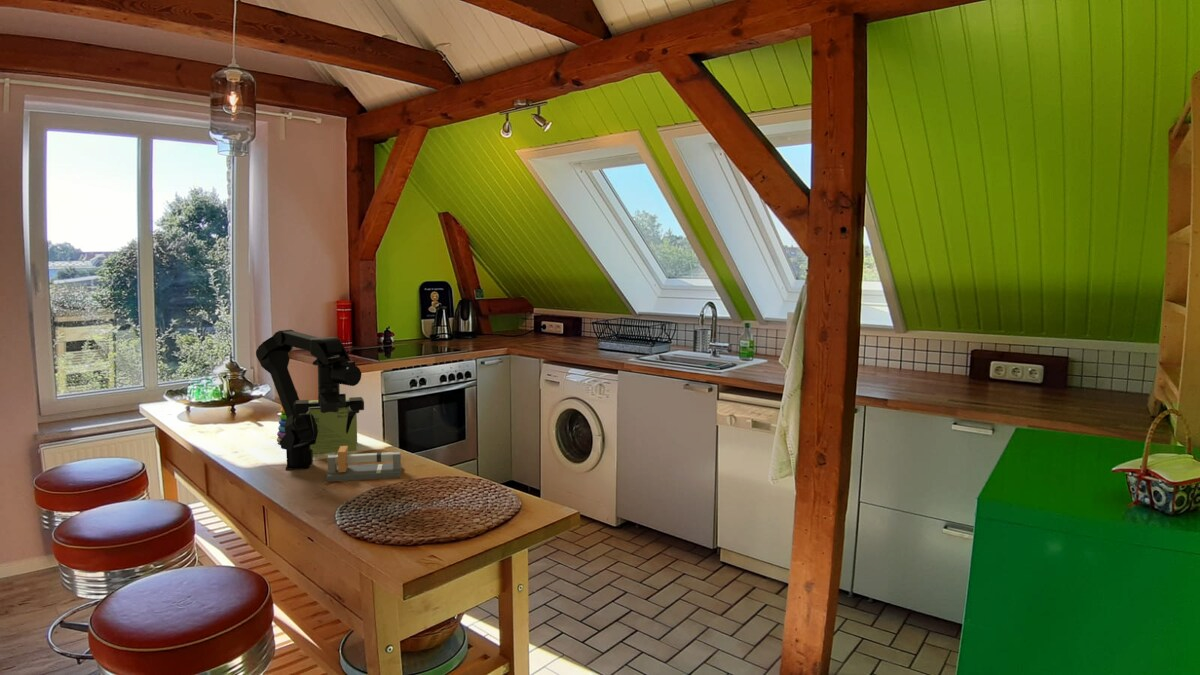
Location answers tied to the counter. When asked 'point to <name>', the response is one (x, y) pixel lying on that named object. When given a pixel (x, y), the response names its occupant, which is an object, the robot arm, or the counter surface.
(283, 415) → the stacking toy
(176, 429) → the counter surface
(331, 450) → the protein box
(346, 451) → the collar
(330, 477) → the pipe rig
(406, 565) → the counter surface
